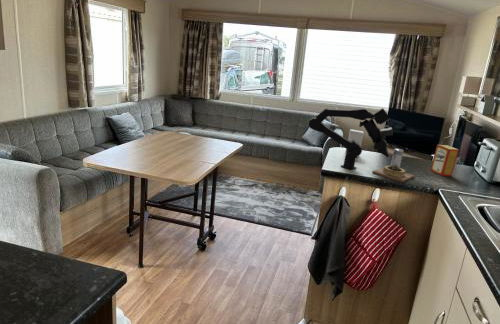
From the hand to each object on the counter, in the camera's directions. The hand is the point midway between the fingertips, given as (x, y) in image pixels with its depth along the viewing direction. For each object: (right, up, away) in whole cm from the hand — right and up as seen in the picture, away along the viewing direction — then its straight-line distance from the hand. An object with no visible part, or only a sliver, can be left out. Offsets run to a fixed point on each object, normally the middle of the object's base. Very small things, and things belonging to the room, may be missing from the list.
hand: (387, 154), depth 193 cm
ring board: (+3, -11, +2) cm, 12 cm away
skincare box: (-9, 0, +35) cm, 36 cm away
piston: (+3, -10, +1) cm, 11 cm away
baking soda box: (+37, -11, +18) cm, 43 cm away
